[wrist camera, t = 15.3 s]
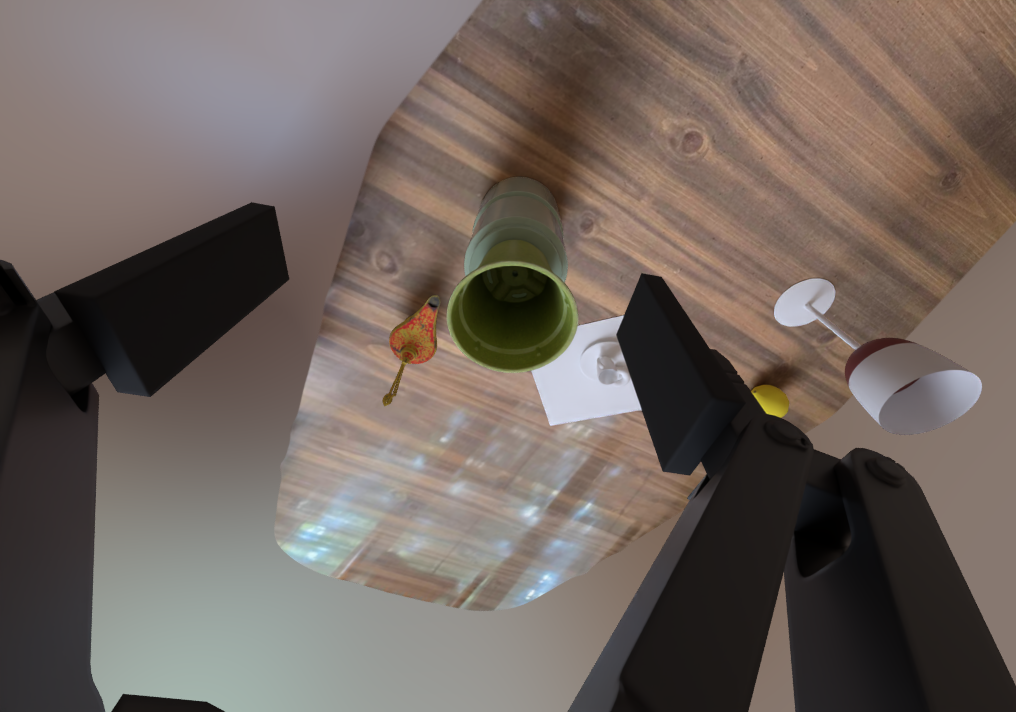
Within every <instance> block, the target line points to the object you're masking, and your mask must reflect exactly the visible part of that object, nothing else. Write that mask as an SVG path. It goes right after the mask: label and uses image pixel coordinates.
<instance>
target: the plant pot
mask: <svg viewBox="0 0 1016 712" xmlns="http://www.w3.org/2000/svg"><path fill="white" fill-rule="evenodd" d="M488 270H490V272H491V278H492V281H493V283H490V282H489V279H488V277H487V271H488ZM513 271H516V272H517V276H516V277H514V276H513V275H512V273H513ZM540 272H541V273H543V274H542V275H540ZM522 293H527V295H526V296H524V297H521V298H515V297H512V295H514V294H522ZM447 325H448V329H449V332H450V335H451V337H452V339H453V341H454V342H455V344H456V345H457V347H458V348H459V349H460V351H461V352H462V353H463V354H464V355H465V356H467V357H468V358H469V359H471V360H472V361H474V362H475V363H477V364H478V365H480V366H483V367H485V368H488V369H491V370H494V371H499V372H506V373H518V372H527V371H532V370H535V369H539V368H541V367H543V366H545V365H547V364H549V363H551V362H552V361H554V360H556V359H557V358H558V357H559V356H560V355H561V354H563V353H564V352H565V351H566V349H567V348H568V347H569V345H570V344H571V342H572V341H573V339H574V336H575V334H576V331H577V327H578V310H577V305H576V302H575V299H574V297H573V295H572V293H571V291H570V290H569V288H568V287H567V285H566V284H565V283H564V282H563V281H562V280H561V279H560V278H559V277H558V276H557V275H556V274H554V273H553V272H552V270H551V268H550V266H549V264H548V262H547V259H546V257H545V256H544V254H543V253H542V252H541V251H540V250H539V249H538V248H537V247H535V246H534V245H532V244H530V243H528V242H526V241H523V240H507V241H503V242H501V243H499V244H497V245H495V246H494V247H492V248H491V249H490V250H489V252H488V253H487V254H486V255H485V257H484V258H483V260H482V262H481V263H480V265H479V267H478V268H477V269H475V270H474V271H472V272H471V273H469V274H468V275H467V276H466V277H464V278H463V279H462V280H461V282H460V283H459V284H458V285H457V287H456V288H455V290H454V291H453V293H452V295H451V297H450V300H449V303H448V307H447Z"/></svg>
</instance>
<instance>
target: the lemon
mask: <svg viewBox="0 0 1016 712" xmlns="http://www.w3.org/2000/svg"><path fill="white" fill-rule="evenodd" d="M751 392H752V394H753V395H754V397H755V398H756V399H757V401H758V402H759V404H760V405H761V406H762V408H763V409H764V411H765V412H766V414H770V415H774V416H777V417H780V418H781V417H783V416H785V414H786V413H787V412H788V407H789V400H788V398H787V396H786V394H784V393H783V392H782V391H781V390H780V389H779V388H776V387H774V386H772V385H761V386H757V387H754V388H753V390H752V391H751Z"/></svg>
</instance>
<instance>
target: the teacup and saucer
mask: <svg viewBox="0 0 1016 712" xmlns="http://www.w3.org/2000/svg"><path fill="white" fill-rule="evenodd" d="M579 369H580V371H581V373H582V374H583V375H584V376H585V377H586V378H587V379H589V380H591V381H594V382H599V383H600V384H602V385H604V386H612V387H614V388H623V387H625V386H627V385H628V384H629V383H630V381H631V377H630V374H629V371H628V368H627V365H626V362H625V360H624V357H623V354H622V351H621V348H620V345H619V342H617V341H612V340H604V341H599V342H596V343H594V344H592V345H590V346H589V347H588V348H586V349H585V350H584V351H583V353H582V354H581V356H580V358H579Z"/></svg>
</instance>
